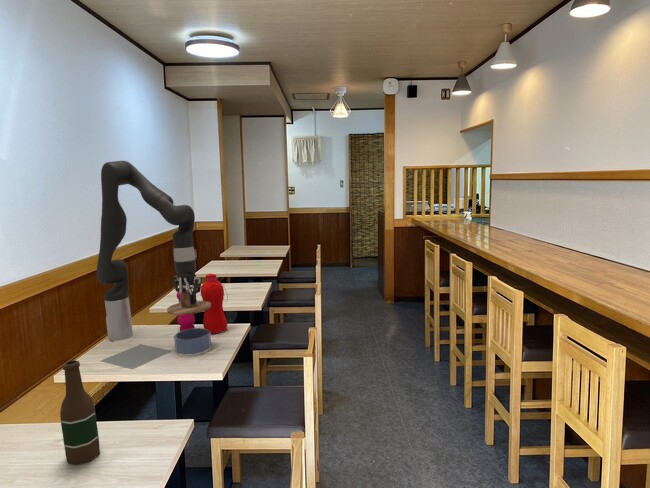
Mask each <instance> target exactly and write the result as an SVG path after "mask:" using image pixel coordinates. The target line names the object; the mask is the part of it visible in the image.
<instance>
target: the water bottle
mask: <svg viewBox="0 0 650 488" xmlns="http://www.w3.org/2000/svg"><path fill="white" fill-rule="evenodd" d="M204 279H205V282H203V283H202V284H201V289H200V296H201V298H202V301H207V302H210V303H211V307H210V308H209V309H208V310H205V311H203V312H204V313H203V321H202V324H203V325H202V326H203V327H202V328H204V329H208V330H209V331H210V335H215V334H219V333H223V332H226V331H227V329H228V321H227V317H226V314H225V311H224V305H223V303H224V300H225V293H226V294H228V293H227V292H228V291H227V290H226V288H225V286H224V285H223V284H222V282H221V281H219V279H218V278H217V274H215V273H207V274H205V276H204ZM226 297H227V299H226V301H225V303H227V302H228V300H229V299H228V295H226Z"/></svg>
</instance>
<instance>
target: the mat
mask: <svg viewBox="0 0 650 488" xmlns="http://www.w3.org/2000/svg"><path fill="white" fill-rule="evenodd" d="M172 352H173V350H171V349H166V348H165V349H164V348H162V347H157V346H156V347H155V346H152V345H147V344H142V343H141V344H138V345H134V346H133V347H130V348H127V349H126V350H123V351H121V352H118V353H116V354H114V355H111V356H109V357H106V358H104V359H101V360H100V362H102V363H106V364H110V365H113V366H118V367H120V368H121V367H123V368H126V369H130V370H135V369H136V368H139V367H141V366H143V365H145V364H147V363H150V362H152V361H154V360H156V359H158V358H160V357H163V356H164V355H167V354H169V353H172Z"/></svg>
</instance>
